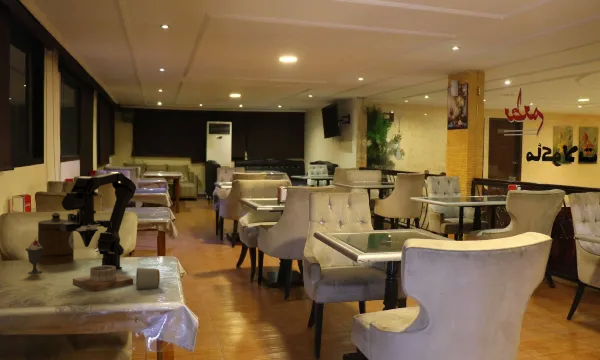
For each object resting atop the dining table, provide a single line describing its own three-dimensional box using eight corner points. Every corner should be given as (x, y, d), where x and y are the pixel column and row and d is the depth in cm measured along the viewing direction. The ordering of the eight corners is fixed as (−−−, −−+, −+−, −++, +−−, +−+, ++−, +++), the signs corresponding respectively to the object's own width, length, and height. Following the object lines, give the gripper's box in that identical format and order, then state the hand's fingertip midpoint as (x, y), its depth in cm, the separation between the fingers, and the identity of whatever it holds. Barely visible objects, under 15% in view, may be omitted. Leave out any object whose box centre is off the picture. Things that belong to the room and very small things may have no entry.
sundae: (36, 275, 210) (36, 238, 209) (21, 274, 211) (21, 237, 210) (47, 271, 216) (47, 235, 215) (33, 270, 217) (32, 234, 217)
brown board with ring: (111, 276, 210) (111, 261, 210) (133, 283, 200) (133, 268, 199) (72, 283, 198) (72, 267, 198) (93, 291, 188) (93, 275, 187)
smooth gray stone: (105, 276, 202) (105, 266, 202) (112, 278, 199) (112, 268, 199) (93, 278, 198) (93, 268, 198) (100, 280, 195) (100, 270, 195)
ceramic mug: (160, 289, 192) (160, 269, 191) (137, 291, 189) (137, 270, 188) (156, 283, 202) (157, 263, 201) (134, 285, 198) (134, 265, 198)
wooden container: (79, 261, 237) (79, 213, 236) (46, 266, 226) (45, 215, 225) (64, 256, 247) (64, 210, 246) (32, 260, 236) (31, 212, 235)
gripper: (98, 204, 220) (98, 241, 221) (53, 207, 206) (54, 247, 207) (112, 207, 213) (112, 245, 214) (66, 210, 199) (66, 250, 200)
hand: (86, 246), depth 209 cm, fingers closed
